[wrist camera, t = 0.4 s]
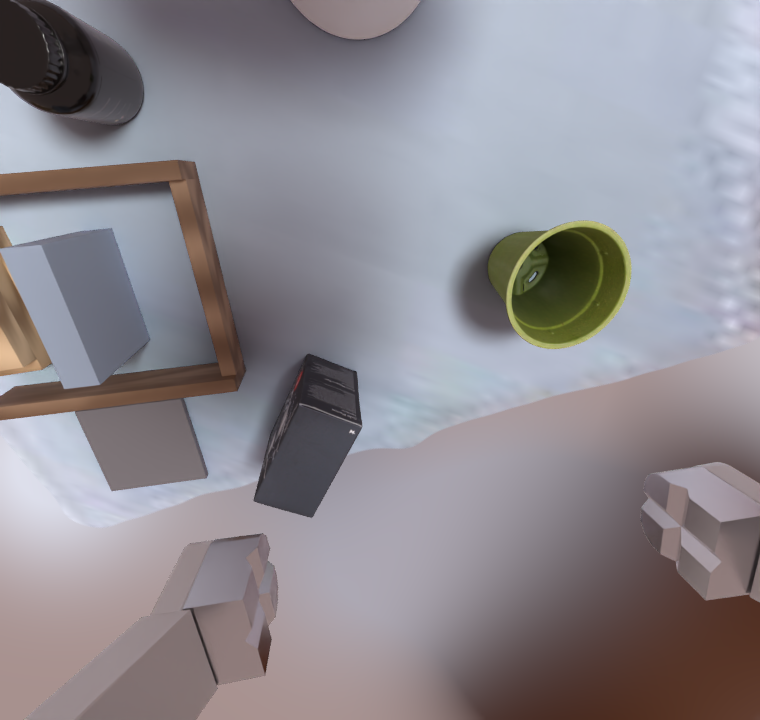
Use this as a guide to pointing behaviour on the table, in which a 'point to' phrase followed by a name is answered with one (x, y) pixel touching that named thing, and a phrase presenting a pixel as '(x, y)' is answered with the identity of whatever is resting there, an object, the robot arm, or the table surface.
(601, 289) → the plant pot
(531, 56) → the table surface
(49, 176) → the walnut rack
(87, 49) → the supplement bottle
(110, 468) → the charcoal mat
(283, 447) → the small box
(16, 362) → the offcut stack
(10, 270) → the gray block
